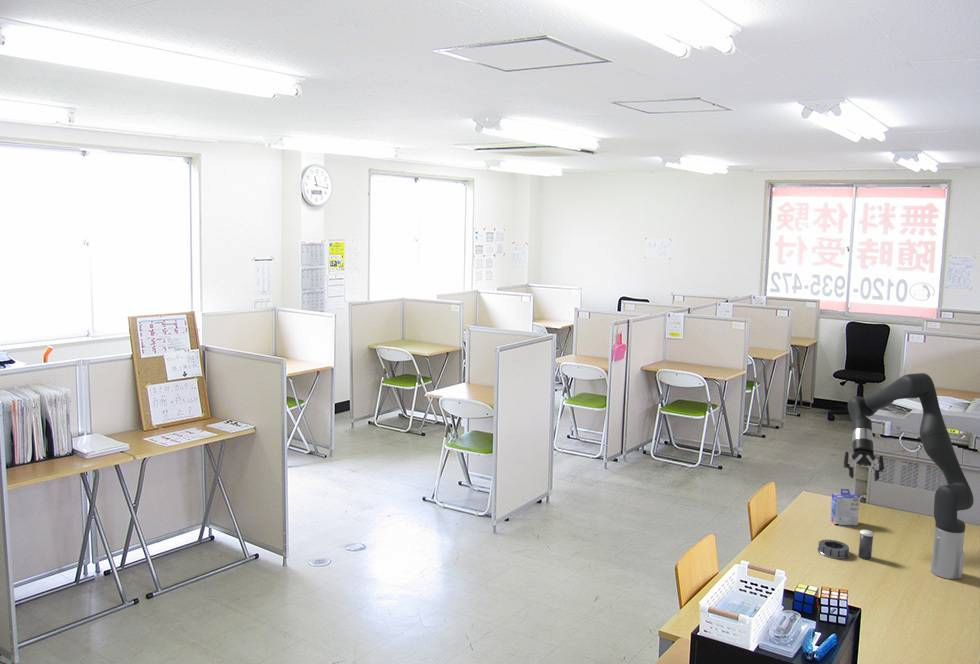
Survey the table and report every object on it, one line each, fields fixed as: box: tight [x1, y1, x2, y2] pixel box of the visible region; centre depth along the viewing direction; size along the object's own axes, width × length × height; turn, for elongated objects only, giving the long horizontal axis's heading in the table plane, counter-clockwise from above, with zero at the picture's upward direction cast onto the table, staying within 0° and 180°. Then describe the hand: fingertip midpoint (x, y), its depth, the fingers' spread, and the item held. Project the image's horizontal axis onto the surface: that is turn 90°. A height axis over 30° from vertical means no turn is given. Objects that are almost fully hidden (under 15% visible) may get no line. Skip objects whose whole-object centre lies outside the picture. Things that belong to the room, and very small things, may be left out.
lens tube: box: [857, 529, 875, 561], centre depth 294 cm, size 5×5×10 cm
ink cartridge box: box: [830, 488, 861, 526], centre depth 328 cm, size 10×6×14 cm, turn 89°
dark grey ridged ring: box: [817, 539, 850, 560], centre depth 298 cm, size 11×11×3 cm
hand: (864, 479), depth 304 cm, fingers open, 8 cm apart
